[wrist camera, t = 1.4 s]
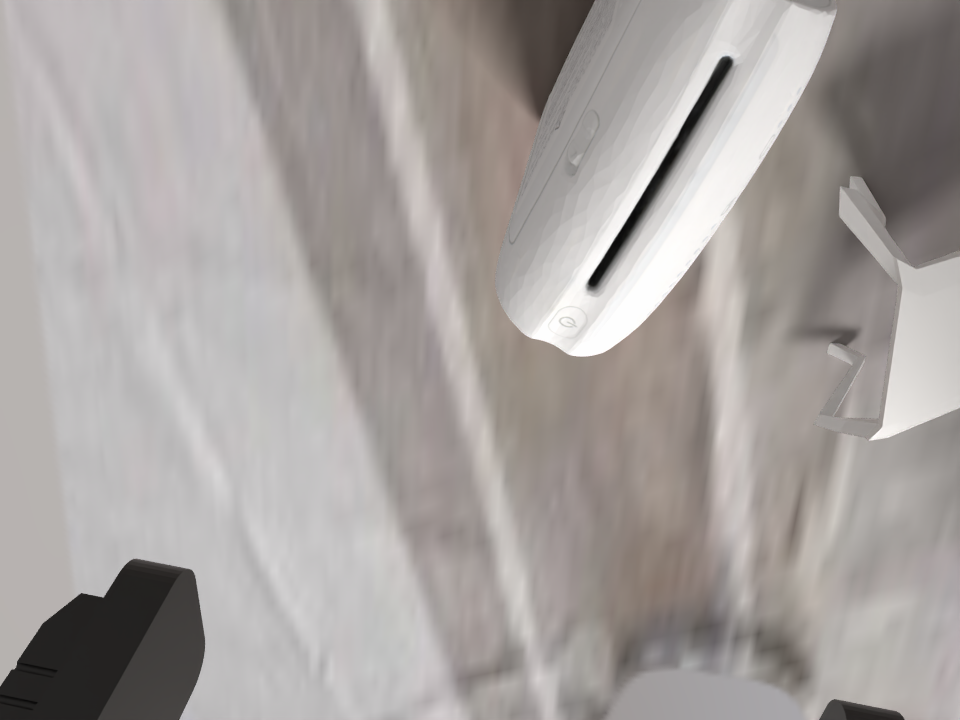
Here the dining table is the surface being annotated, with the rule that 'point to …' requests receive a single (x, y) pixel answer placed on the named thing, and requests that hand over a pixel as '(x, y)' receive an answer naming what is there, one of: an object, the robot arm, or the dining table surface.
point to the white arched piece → (903, 331)
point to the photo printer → (647, 156)
